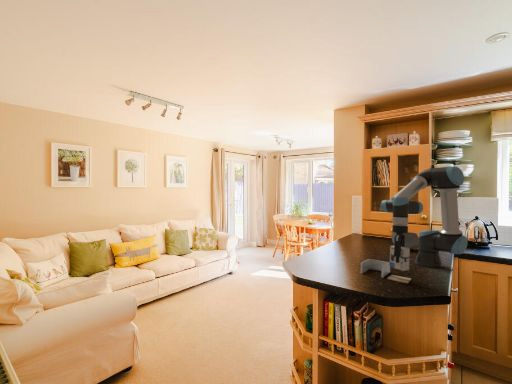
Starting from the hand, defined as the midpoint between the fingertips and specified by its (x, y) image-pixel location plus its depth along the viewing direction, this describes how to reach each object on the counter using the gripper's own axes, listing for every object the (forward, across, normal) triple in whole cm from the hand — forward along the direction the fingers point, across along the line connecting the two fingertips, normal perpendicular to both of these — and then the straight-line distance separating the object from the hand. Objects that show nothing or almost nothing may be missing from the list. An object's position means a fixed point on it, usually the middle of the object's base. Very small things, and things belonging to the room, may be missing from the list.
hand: (399, 267), depth 146 cm
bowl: (+6, -101, -17) cm, 103 cm away
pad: (+6, 0, 0) cm, 6 cm away
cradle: (+6, -4, -13) cm, 16 cm away
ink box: (+1, 0, 0) cm, 1 cm away
